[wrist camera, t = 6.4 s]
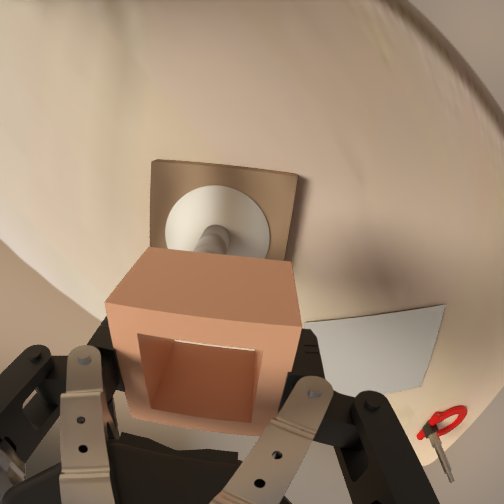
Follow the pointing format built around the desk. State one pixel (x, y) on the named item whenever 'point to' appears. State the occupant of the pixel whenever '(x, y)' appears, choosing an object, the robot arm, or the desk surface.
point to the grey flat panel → (378, 350)
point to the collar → (205, 338)
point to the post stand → (220, 208)
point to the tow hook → (433, 434)
